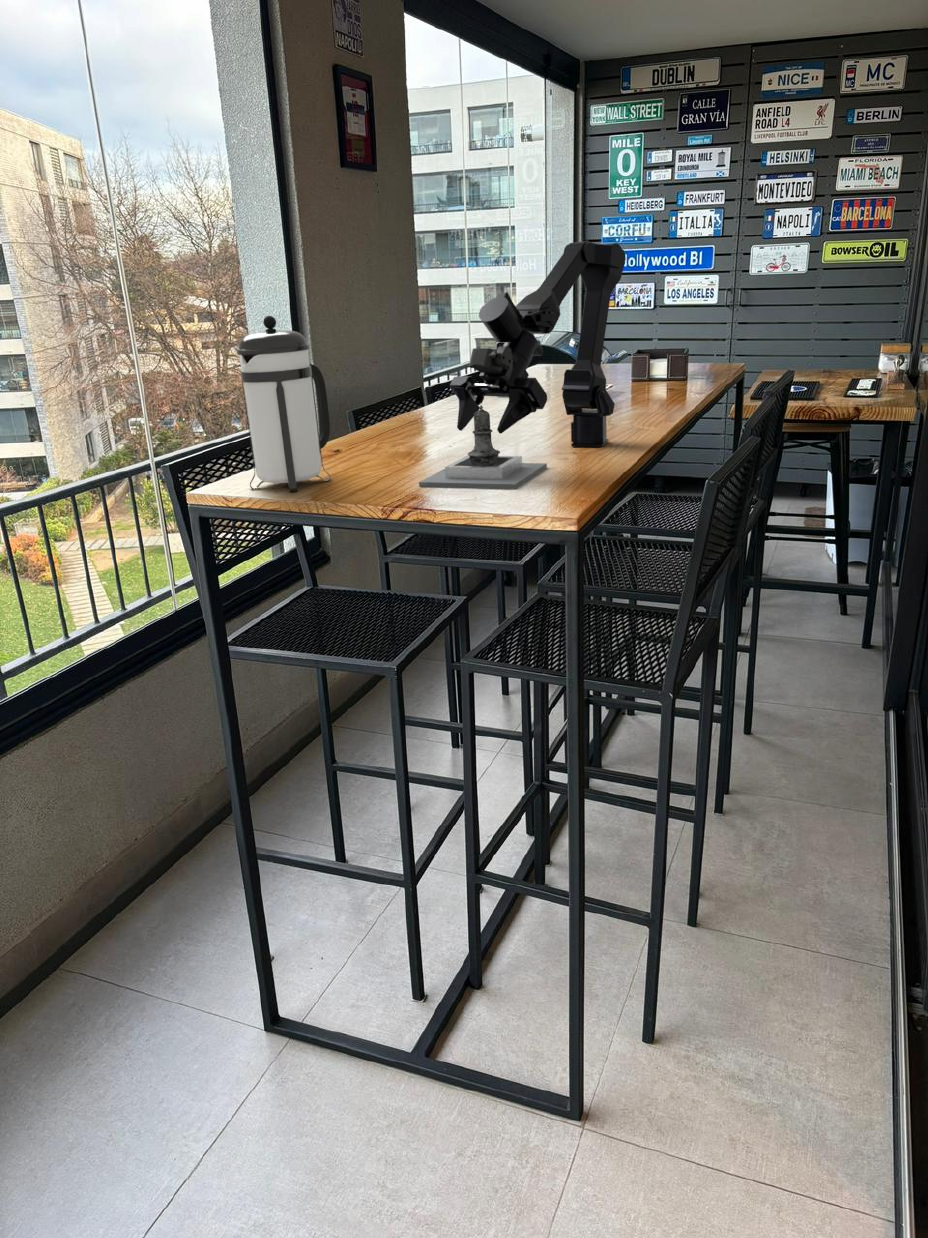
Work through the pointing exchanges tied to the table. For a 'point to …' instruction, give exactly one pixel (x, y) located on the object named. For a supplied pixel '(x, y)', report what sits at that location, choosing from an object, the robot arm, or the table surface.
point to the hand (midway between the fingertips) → (478, 430)
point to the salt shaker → (483, 441)
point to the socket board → (507, 483)
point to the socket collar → (483, 468)
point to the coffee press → (283, 406)
